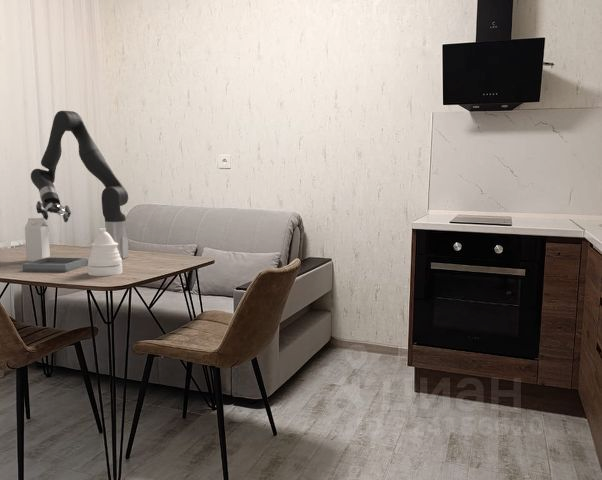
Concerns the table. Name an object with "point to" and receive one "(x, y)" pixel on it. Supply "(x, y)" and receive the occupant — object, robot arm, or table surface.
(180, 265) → the table surface
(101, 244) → the honey pot
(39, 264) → the charcoal tray
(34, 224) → the milk carton
